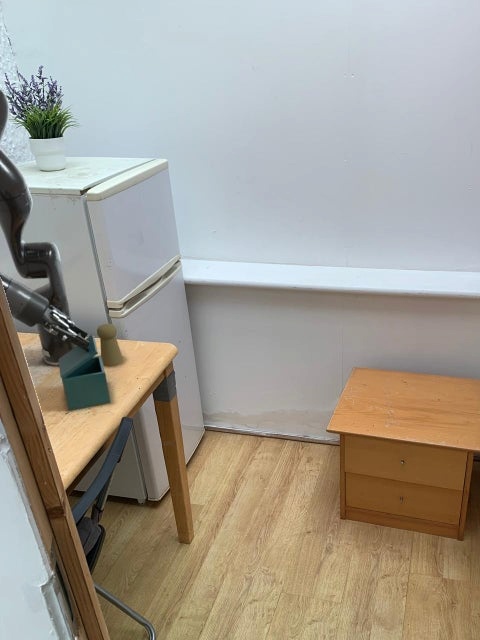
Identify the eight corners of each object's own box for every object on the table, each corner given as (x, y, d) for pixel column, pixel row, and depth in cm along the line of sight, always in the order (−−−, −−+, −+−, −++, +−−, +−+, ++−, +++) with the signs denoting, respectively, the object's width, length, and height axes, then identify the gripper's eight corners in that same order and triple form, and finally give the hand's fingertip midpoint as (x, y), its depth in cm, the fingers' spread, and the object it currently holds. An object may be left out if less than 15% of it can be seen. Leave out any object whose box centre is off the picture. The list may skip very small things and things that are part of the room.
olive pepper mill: (117, 367, 169) (110, 331, 163) (97, 365, 170) (90, 329, 164) (126, 357, 174) (121, 322, 168) (107, 355, 175) (100, 320, 169)
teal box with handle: (94, 336, 153) (81, 322, 150) (98, 353, 145) (84, 339, 142) (60, 361, 153) (46, 348, 150) (62, 379, 145) (48, 365, 142)
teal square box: (106, 384, 161) (100, 355, 156) (110, 403, 153) (105, 372, 148) (66, 391, 158) (59, 361, 153) (69, 410, 150) (61, 380, 145)
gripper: (31, 301, 132) (99, 341, 142) (30, 279, 143) (92, 318, 153) (11, 327, 133) (79, 366, 143) (11, 304, 144) (75, 341, 154)
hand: (86, 341), depth 148 cm, fingers closed on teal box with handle, 5 cm apart
